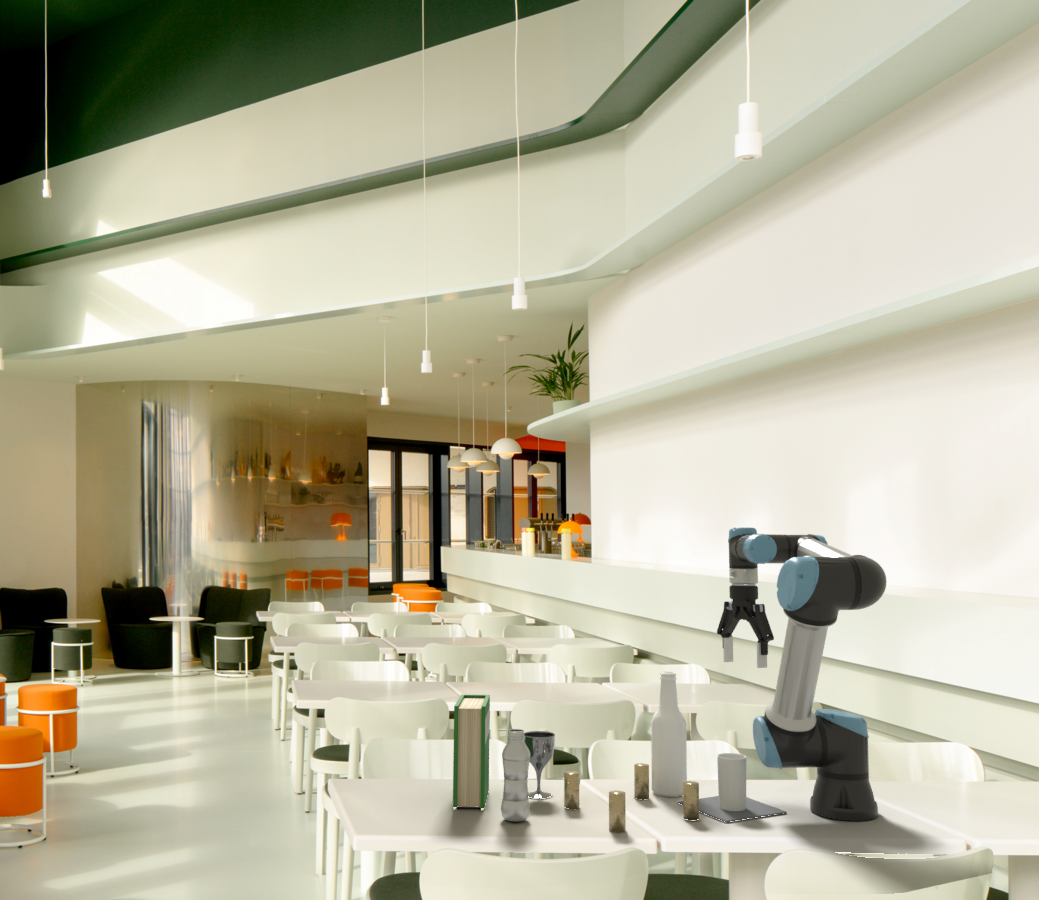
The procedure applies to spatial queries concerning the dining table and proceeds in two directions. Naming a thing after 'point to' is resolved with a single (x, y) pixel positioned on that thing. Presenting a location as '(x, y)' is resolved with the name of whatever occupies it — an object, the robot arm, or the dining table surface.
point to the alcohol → (668, 742)
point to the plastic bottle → (515, 777)
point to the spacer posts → (641, 792)
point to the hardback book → (471, 750)
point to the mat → (751, 811)
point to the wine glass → (539, 755)
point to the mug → (732, 781)
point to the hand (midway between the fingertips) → (744, 664)
